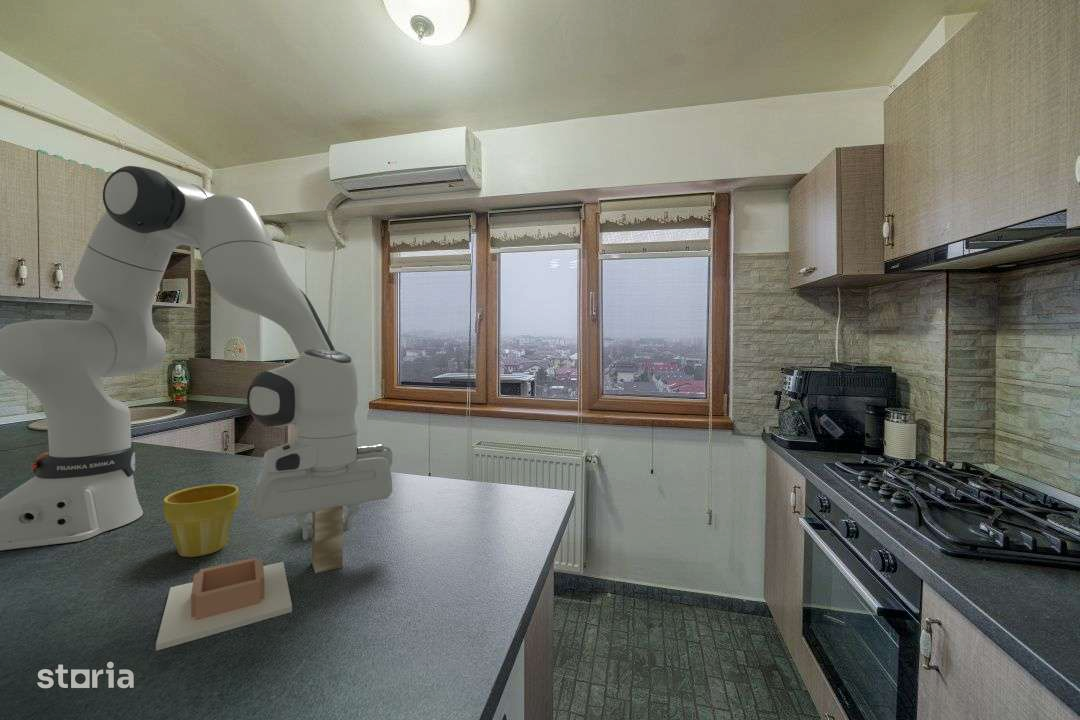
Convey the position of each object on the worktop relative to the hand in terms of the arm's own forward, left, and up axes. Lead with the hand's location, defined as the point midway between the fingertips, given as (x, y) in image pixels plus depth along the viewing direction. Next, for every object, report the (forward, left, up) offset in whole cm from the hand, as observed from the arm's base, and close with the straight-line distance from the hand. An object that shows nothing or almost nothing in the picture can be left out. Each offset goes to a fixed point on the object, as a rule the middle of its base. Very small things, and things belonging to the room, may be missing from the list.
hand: (327, 534), depth 72 cm
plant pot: (-17, +17, -5) cm, 25 cm away
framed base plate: (-13, -4, -5) cm, 15 cm away
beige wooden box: (0, 0, -5) cm, 5 cm away
